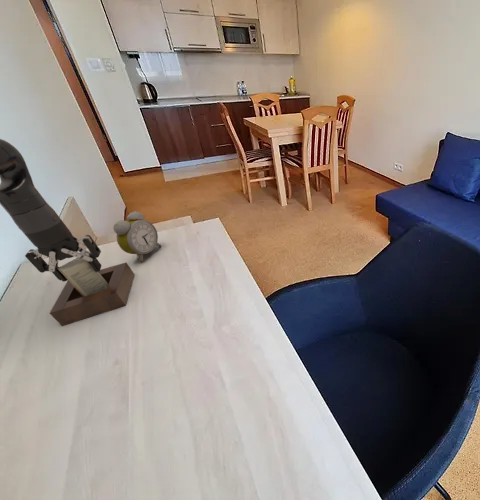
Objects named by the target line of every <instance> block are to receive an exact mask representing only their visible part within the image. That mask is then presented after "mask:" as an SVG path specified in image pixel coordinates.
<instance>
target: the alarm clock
mask: <svg viewBox="0 0 480 500" xmlns="http://www.w3.org/2000/svg"><path fill="white" fill-rule="evenodd" d="M145 219H146V217H145V215H144V214H143V213H141V212H139V211H137V210H134V211H132V212H130V213H129V214H128V215H127V216H126V220H119V221H116V222H115V223H114V225H113V228H112V229H113V231H114V233H115V234H116V242H117V244H118V246H119V248H120V249H121V250H122V251H123V252H124V253H127V254H131V255H137V258H138V261H139V263H143V262H144V255H147V254H150V253H151V252H152V251H153V250H155V248H156V247H159V248H160V247H161V246H162V245H161V244H160V243H159V242H158V240H159V235H158V231H157V228H156V227H155V225H154V224H153V223H152V222H150V221H148V220H147V219H146V220H145Z"/></svg>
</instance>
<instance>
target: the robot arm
mask: <svg viewBox="0 0 480 500" xmlns="http://www.w3.org/2000/svg"><path fill="white" fill-rule="evenodd" d="M30 173H31V172H30V170H29V168H28V166H27V163H26V161H25V158H24V157H23V155H22V153H21V152H20V151H19V149H18V148H17V147H15V146H14V145H13V144H11V143H10V142H8V141H6V140H5V139H2V138H0V206H1V207H2V208H3V209H4V210H5V212H6V213H7V214H8V215H9V217H10V218H11V219H12V221H13V222H14V224H15V225H16V226H17V228H18V229H19V230H20V231H21V232H22V233H23V234H24V235H25V237H26V238H27V239H28V240H29V241H30V242H31V244H32V245H33V246H34V247H36V248H37V249H33V248H32V249H29V250H28V251H27V252H26V254H25V255H24V257H25V259H27V260H28V262H29V263H31V265H33V267H34V268H36V270H37V271H38V272H40V273H42V274H43V273H45V272H50V273H52V274H53V276H55V277H56V279H57V280H58V281H62V282H63V283H65V282H67V281H68V280H67V279H66V278H65V276H64V275H63V274H62V273H61V272H60V271H59V270H58V269H57V268H59V267H60V266H59V262H60V261H64V260H65V259H71V258H79V259H81V258H82V259H84V260H87V261H89V262H88V263H89V264H90V265H91V267H92V268H93V269H94V271H95V272H99V271H100V270H101V269H102V263H101V262H100V261H99V260H98V258H99V257H100V255H101V253H102V250H101V248H100V247H99V246H98V244H97V243H96V242H95V240H94V239H93V237H92V236H91V235H89V234H86V235H85V236H84V237H80V238H77V237H75V236H74V235H73V234H72V232H71V230H70V229H69V228H68V226H67V225H66V224H65V222H64V221H63V219H62V218H61V217H60V216H59V215H58V213H57V212H56V211H55V210H54V208H53V207H52V206H51V205H50V204H49V203H48V202H47V201H46V199H45V198H44V197H43V196H42V194H41V193H40V192H39V190H38V189H37V188H36V187H35V183H34V181H33V179H32V176H31V174H30ZM80 244H81V245H82V246H83V247H82V246H80ZM84 247H86V248H87V249H86V248H84ZM42 256H45V257H48V262H46V261H45V260H44V258H43V257H42Z"/></svg>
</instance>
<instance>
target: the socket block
mask: <svg viewBox="0 0 480 500" xmlns="http://www.w3.org/2000/svg"><path fill="white" fill-rule="evenodd" d="M99 273H100V274H101V276H102V277H103V278H104V279H105V281H106V282H107V283H108V287H107V290H104V291H101V292H98V293H94V294H91V295H88V296H85V297H83V296H82V295H81V294H80V293H79V292H78V291H77V290H76V289H75V288H74V286H73V285H72V284H71V283H70V282H69V281H68V280H67V281H66V283H65V284H64V286H63V288H62V290H61V292H60V294H59V295H58V297H57V299H56V301H55V303H54V304H53V306H52V308H51V310H50V311H49V315H50V316H51V317H52V318H53V319H54V320H55V321H56V322H57V323H58V324H59V325H60V326H61V327H63V326H66V325H69V324H72V323H75V322H79V321H83V320H85V319H88V318H91V317H94V316H97V315H100V314H103V313H107V312H111V311H113V310H116V309H119V308H122V307H126V306H127V303H128V300H129V296H130V292H131V288H132V286H133V281H134V278H135V273H134V271H133V270H132V268H131V267H130V265H129V264H128V262H123V263H119V264H116V265H112V266H109V267H104V268H101V269H100V271H99Z"/></svg>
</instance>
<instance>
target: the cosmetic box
mask: <svg viewBox="0 0 480 500" xmlns="http://www.w3.org/2000/svg"><path fill="white" fill-rule="evenodd" d="M88 262H89V261H87V260H84V259H82V258H81V259H79V258H77V257H75V258H74V259H72V260H70V261H69V262H67V263H65V264H62V265H61V266H58V267H59V268H57V269H58V270H59V271H60V272H61V273H62V274H63V275H64V276H65V278H66V279H67V281H69V282H70V283H71V284H72V285H73V286H74V288H75V289H76V290H77V291H78V292H79V293H80V294H81V295H82V296H83V297H85V296H88V295H91V294H94V293H98V292H101V291H104V290H107V287H108V283H107V282H106V281H105V279H104V278H103V277H102V276H101V274H100V273H99V272H95V271H94V269H93V268H92V267H91V265H90V264H89V263H88Z"/></svg>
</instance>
